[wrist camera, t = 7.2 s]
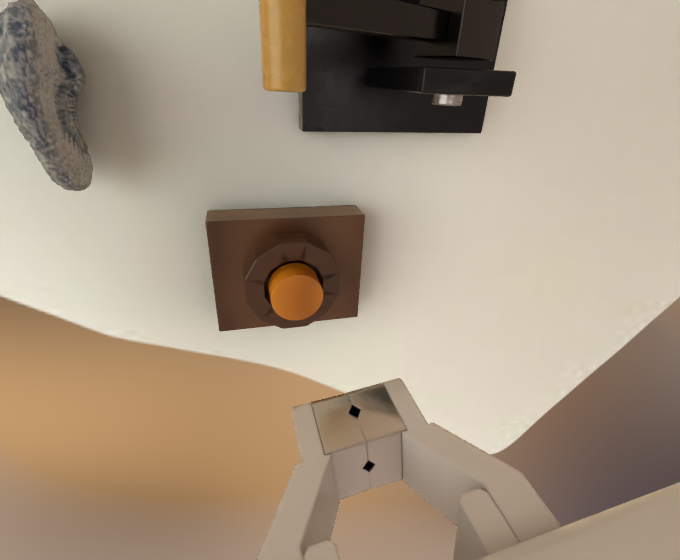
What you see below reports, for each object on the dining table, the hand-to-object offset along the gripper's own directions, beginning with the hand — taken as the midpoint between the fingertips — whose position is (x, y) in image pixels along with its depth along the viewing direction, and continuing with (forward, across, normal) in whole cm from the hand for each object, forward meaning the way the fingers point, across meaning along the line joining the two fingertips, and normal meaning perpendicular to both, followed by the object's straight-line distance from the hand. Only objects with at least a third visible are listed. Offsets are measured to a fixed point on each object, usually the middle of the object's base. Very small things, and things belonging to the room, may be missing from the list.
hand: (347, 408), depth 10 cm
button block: (+18, 0, +4) cm, 19 cm away
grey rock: (+19, +10, -7) cm, 23 cm away
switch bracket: (+18, -9, -8) cm, 22 cm away
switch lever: (+11, -5, -9) cm, 15 cm away
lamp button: (+15, 0, +4) cm, 15 cm away
